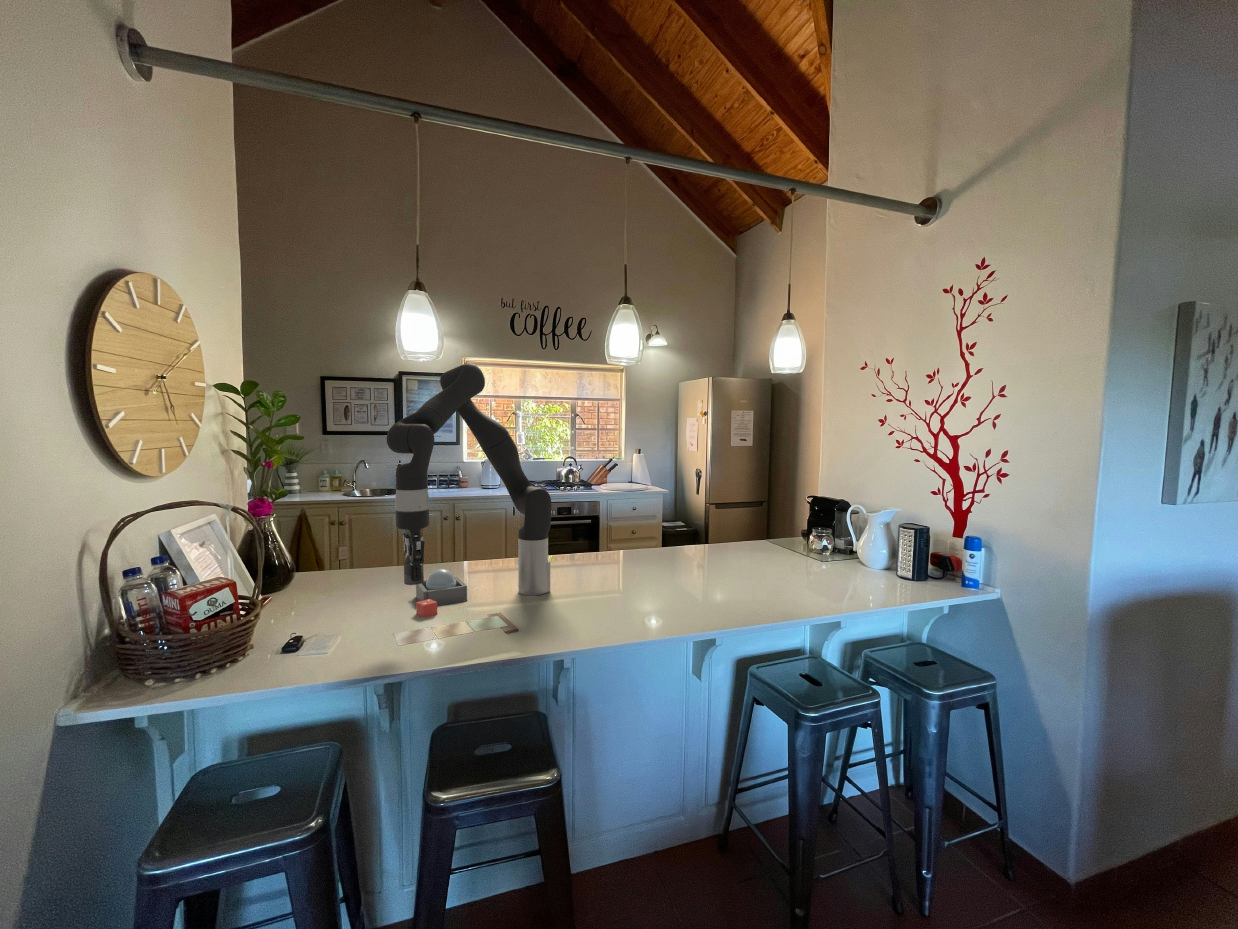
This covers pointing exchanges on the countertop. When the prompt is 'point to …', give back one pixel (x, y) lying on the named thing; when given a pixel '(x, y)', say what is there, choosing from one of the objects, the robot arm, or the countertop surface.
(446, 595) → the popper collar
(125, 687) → the countertop surface
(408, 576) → the dark grey capsule
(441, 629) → the game board
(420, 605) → the red die
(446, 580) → the dome
